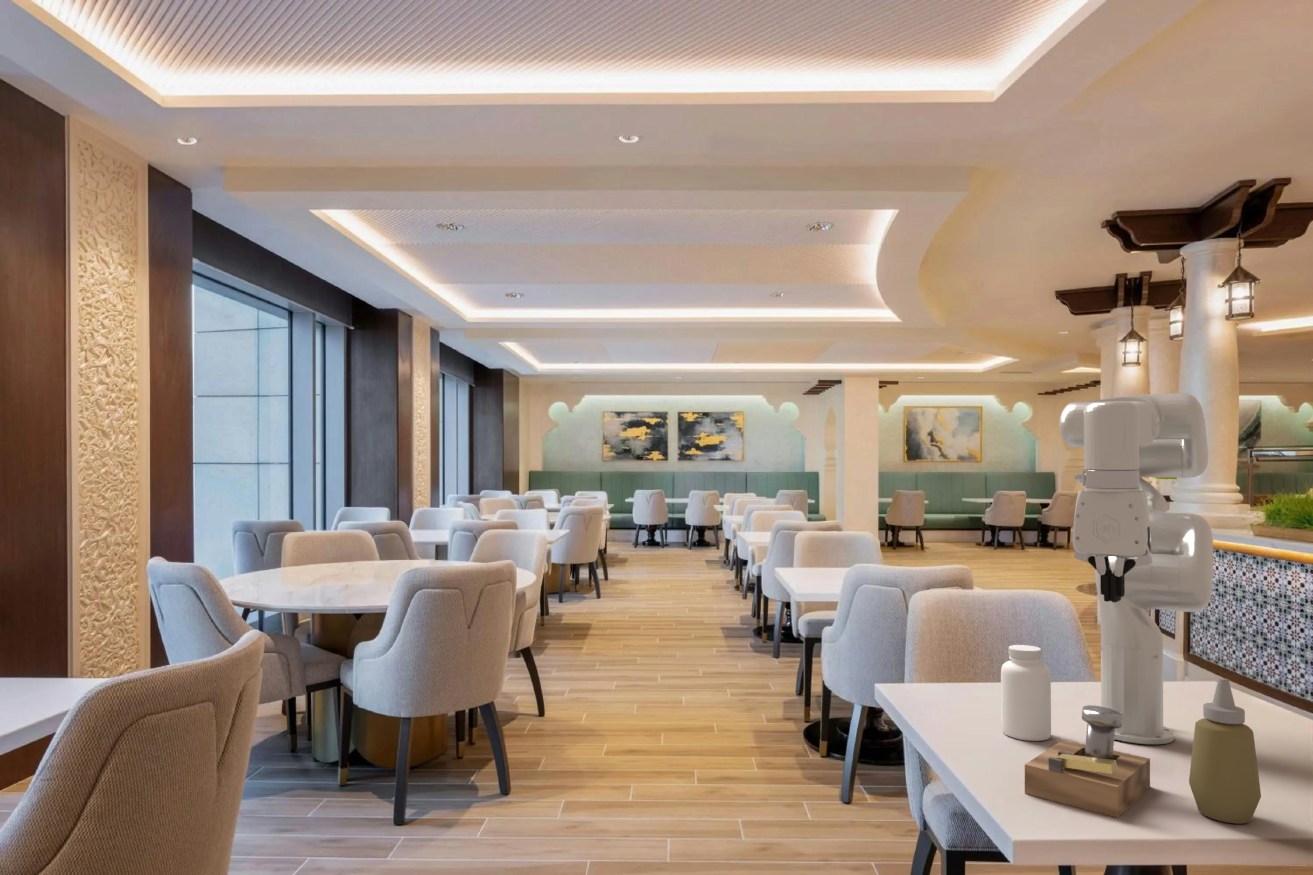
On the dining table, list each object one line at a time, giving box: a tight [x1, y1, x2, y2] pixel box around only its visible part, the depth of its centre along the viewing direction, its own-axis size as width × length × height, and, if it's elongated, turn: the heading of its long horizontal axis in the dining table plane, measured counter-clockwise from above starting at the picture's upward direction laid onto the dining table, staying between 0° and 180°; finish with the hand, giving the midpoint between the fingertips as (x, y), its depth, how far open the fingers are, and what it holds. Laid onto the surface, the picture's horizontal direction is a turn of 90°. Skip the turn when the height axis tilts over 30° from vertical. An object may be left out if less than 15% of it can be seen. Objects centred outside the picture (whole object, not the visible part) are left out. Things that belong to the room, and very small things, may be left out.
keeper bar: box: [1057, 754, 1117, 774], centre depth 118 cm, size 2×7×1 cm, turn 47°
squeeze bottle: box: [1188, 678, 1262, 825], centre depth 115 cm, size 8×8×18 cm
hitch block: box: [1024, 739, 1151, 819], centre depth 123 cm, size 16×12×6 cm
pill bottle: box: [1000, 644, 1052, 742], centre depth 149 cm, size 8×8×15 cm
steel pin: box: [1081, 705, 1123, 760], centre depth 126 cm, size 5×5×10 cm
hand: (1112, 600), depth 132 cm, fingers closed
